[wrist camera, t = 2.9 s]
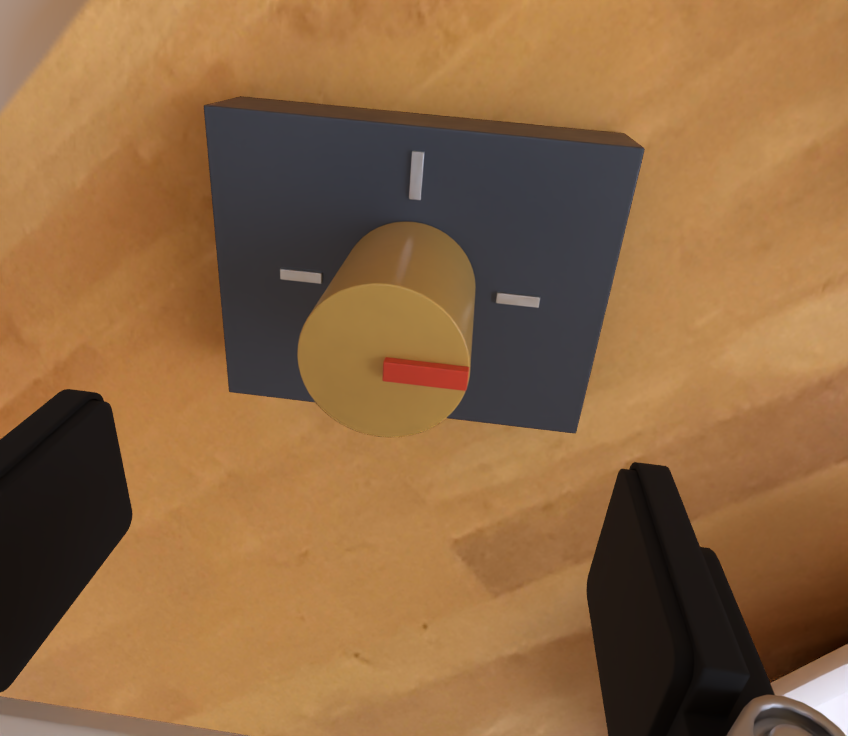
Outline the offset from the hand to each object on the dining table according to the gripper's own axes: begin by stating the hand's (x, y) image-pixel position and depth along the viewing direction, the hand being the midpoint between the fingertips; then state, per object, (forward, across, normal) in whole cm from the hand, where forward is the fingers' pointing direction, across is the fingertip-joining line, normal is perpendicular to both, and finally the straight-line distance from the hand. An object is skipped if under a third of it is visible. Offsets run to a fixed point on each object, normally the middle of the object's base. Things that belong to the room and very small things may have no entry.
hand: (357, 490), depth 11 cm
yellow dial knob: (+10, 0, 0) cm, 10 cm away
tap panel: (+13, 0, 0) cm, 13 cm away
